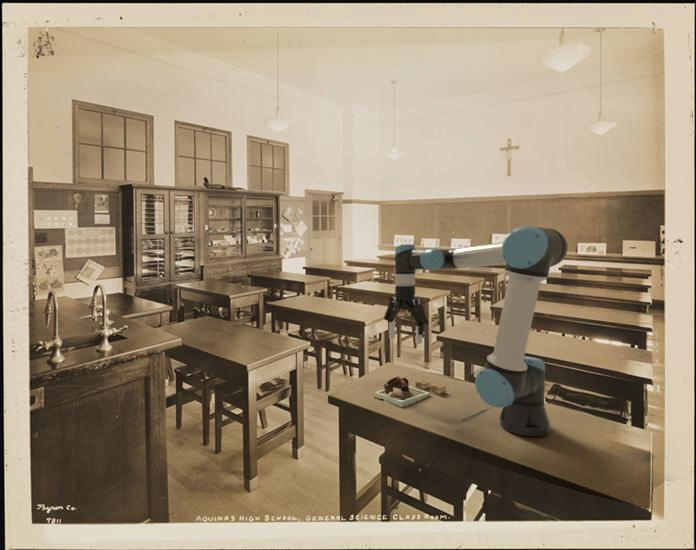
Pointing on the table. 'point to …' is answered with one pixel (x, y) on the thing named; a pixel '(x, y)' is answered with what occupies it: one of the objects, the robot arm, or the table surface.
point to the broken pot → (397, 385)
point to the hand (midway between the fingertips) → (405, 340)
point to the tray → (402, 402)
